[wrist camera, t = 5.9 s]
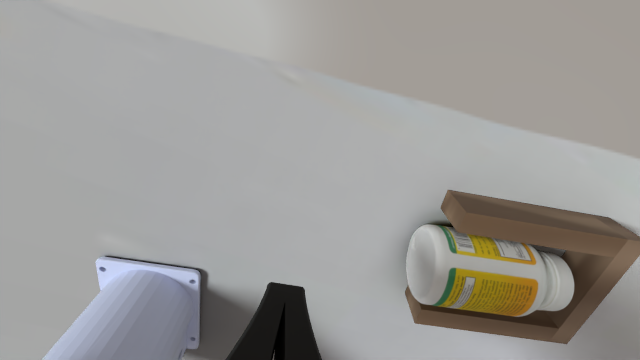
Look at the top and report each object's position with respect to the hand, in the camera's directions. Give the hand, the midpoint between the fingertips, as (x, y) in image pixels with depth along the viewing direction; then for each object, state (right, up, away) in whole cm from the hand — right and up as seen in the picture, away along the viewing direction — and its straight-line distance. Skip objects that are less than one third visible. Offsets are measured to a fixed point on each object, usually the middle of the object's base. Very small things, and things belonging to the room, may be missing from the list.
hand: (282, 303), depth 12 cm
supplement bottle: (+8, -1, +9) cm, 12 cm away
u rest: (+15, -1, +12) cm, 20 cm away
